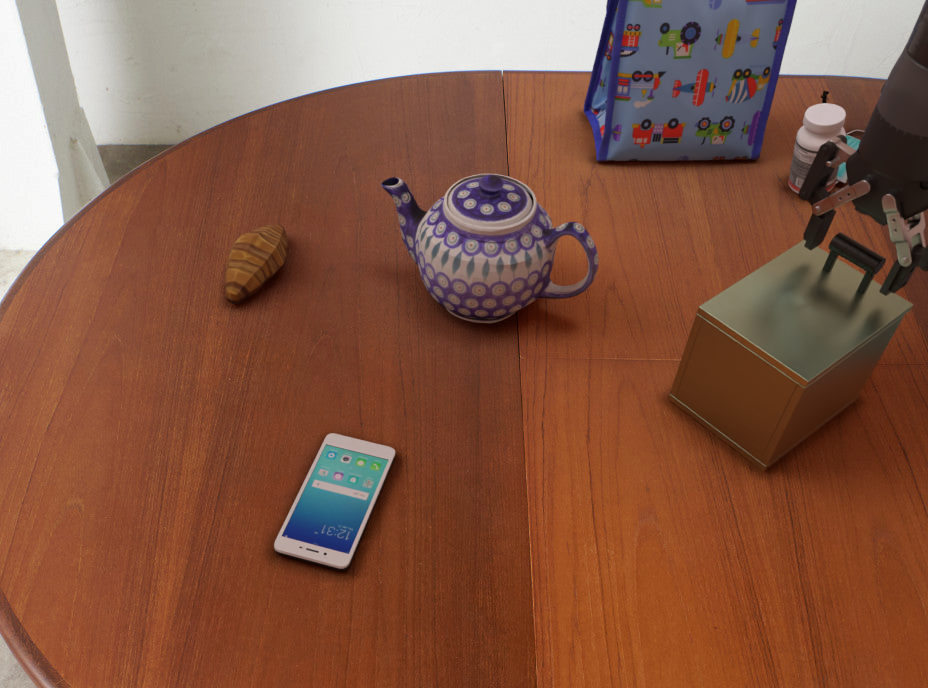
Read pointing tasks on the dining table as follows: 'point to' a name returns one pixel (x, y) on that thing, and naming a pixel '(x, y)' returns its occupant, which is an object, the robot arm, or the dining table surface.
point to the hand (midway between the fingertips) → (849, 267)
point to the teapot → (486, 246)
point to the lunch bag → (686, 78)
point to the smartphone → (335, 502)
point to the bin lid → (808, 307)
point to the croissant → (254, 261)
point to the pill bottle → (815, 141)
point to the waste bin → (764, 392)
